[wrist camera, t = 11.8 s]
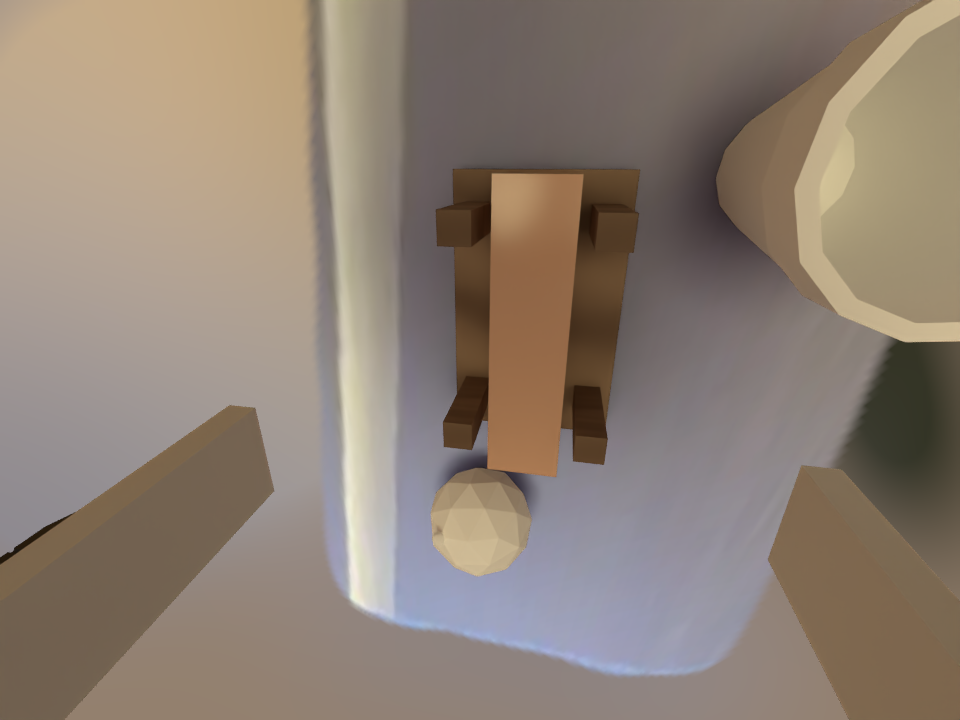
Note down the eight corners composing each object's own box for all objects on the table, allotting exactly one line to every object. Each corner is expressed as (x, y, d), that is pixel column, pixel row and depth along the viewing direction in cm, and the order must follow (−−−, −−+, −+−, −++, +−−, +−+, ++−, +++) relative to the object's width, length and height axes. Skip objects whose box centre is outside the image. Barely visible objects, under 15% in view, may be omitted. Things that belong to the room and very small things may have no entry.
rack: (458, 169, 26) (420, 168, 19) (635, 169, 24) (662, 168, 17) (462, 407, 32) (433, 470, 25) (602, 421, 31) (612, 492, 24)
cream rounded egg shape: (485, 540, 37) (406, 580, 31) (477, 451, 37) (397, 476, 31) (554, 563, 32) (476, 617, 26) (546, 461, 32) (466, 492, 26)
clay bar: (558, 430, 30) (556, 477, 25) (499, 424, 30) (487, 468, 26) (580, 173, 23) (583, 174, 19) (506, 173, 24) (491, 173, 20)
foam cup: (775, 295, 25) (952, 400, 14) (648, 200, 25) (719, 224, 13) (935, 140, 21) (1380, 101, 10) (789, 22, 21) (1077, -175, 9)
